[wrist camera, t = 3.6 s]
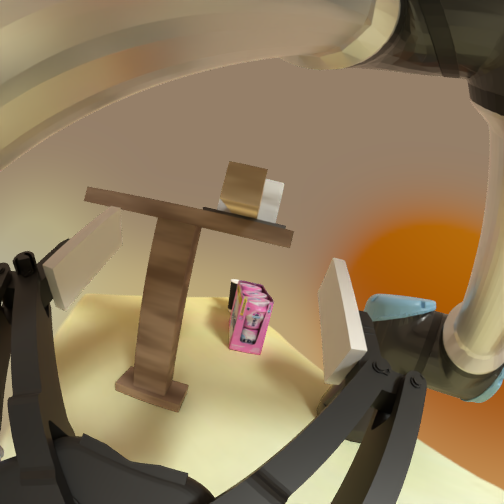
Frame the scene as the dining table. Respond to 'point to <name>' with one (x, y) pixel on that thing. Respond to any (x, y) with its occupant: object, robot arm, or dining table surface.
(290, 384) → the dining table surface
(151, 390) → the wooden t-shaped stand
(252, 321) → the gum box
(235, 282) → the dixie cup
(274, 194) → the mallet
